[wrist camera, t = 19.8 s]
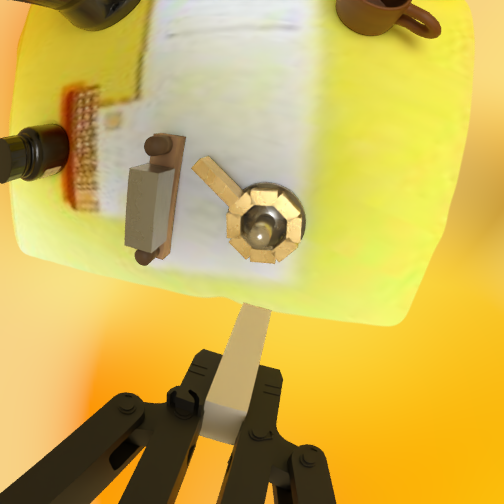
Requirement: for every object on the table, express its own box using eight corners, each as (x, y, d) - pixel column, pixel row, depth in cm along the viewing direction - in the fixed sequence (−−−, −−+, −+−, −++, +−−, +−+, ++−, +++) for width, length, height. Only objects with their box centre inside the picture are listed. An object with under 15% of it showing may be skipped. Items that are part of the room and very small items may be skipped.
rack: (149, 246, 43) (131, 261, 38) (162, 133, 36) (142, 134, 31) (169, 252, 43) (153, 268, 38) (185, 136, 36) (167, 138, 31)
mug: (429, 32, 25) (459, 10, 16) (406, 69, 28) (434, 52, 19) (351, -19, 24) (360, -54, 15) (324, 16, 27) (328, -16, 18)
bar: (166, 240, 40) (151, 253, 36) (141, 233, 40) (124, 245, 36) (175, 168, 36) (158, 173, 31) (148, 163, 36) (129, 168, 32)
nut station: (223, 245, 41) (207, 266, 35) (237, 174, 37) (222, 183, 31) (294, 264, 40) (291, 289, 34) (314, 193, 36) (316, 207, 30)
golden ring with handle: (264, 269, 40) (260, 280, 37) (182, 185, 37) (171, 189, 35) (316, 226, 37) (317, 235, 34) (229, 135, 34) (222, 135, 31)
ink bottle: (34, 164, 42) (-15, 179, 31) (43, 118, 38) (-9, 125, 27) (66, 181, 42) (14, 200, 31) (76, 131, 38) (20, 139, 27)
